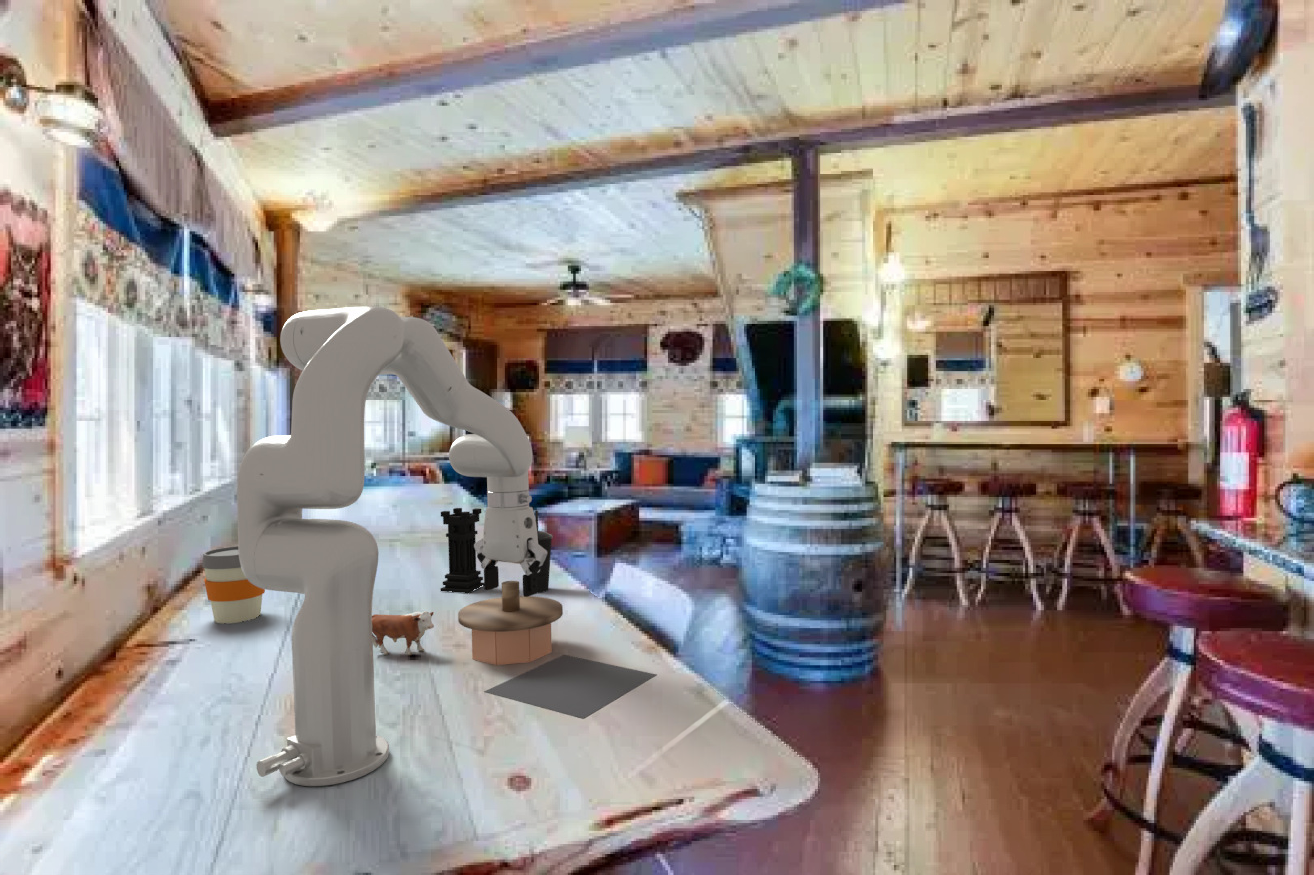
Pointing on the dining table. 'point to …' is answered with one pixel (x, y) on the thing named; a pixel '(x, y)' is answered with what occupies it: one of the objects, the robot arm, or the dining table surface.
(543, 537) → the drinking cup
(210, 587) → the reusable coffee cup
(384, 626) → the bull figurine
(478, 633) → the bowl
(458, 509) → the chess piece
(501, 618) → the lid
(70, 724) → the dining table surface
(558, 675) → the mat
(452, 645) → the dining table surface
